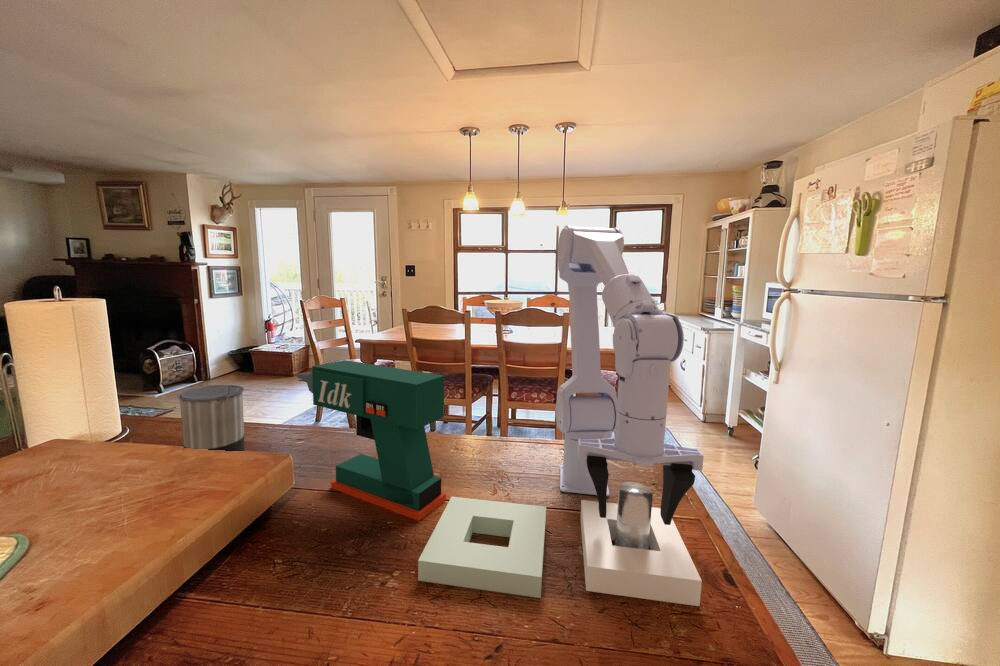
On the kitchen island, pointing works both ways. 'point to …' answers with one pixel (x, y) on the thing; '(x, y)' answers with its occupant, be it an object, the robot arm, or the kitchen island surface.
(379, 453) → the power tool
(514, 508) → the socket block
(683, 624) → the kitchen island surface
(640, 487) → the steel peg
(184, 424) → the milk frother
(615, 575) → the cream square-hole board
